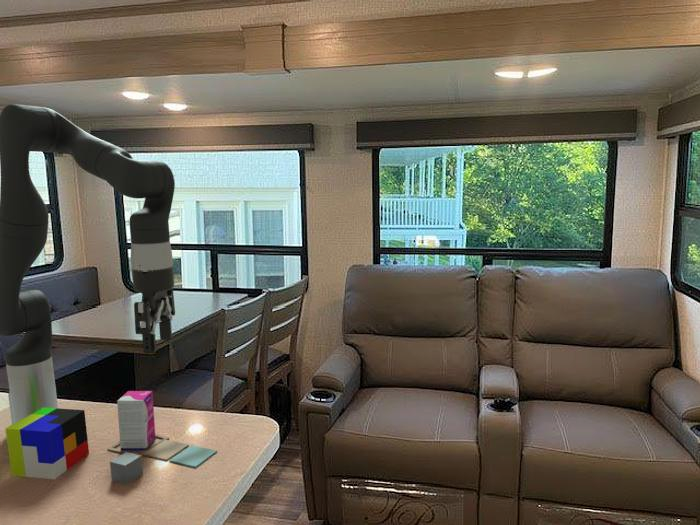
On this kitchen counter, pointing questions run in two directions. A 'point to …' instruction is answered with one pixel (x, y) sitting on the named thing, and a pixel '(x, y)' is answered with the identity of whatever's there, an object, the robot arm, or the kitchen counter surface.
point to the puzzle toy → (47, 442)
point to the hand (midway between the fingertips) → (158, 345)
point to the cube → (126, 468)
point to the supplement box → (136, 420)
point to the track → (174, 452)
